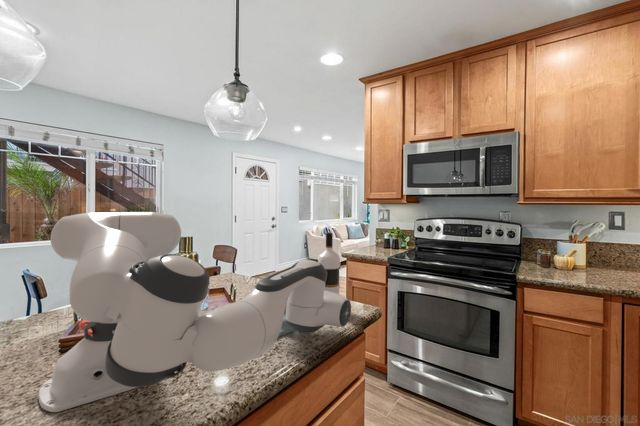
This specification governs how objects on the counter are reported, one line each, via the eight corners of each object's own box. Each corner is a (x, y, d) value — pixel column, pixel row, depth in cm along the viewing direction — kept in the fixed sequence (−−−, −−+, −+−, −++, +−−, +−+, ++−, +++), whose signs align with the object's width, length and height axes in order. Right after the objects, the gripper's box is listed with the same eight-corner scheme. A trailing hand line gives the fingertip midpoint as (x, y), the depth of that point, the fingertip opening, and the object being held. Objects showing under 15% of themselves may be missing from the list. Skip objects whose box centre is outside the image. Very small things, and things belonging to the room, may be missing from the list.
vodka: (324, 317, 109) (325, 234, 108) (311, 309, 117) (312, 232, 116) (345, 313, 114) (346, 233, 113) (332, 305, 122) (332, 231, 121)
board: (272, 339, 92) (272, 318, 92) (246, 325, 102) (246, 307, 102) (309, 323, 104) (310, 305, 104) (283, 313, 114) (283, 296, 113)
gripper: (279, 319, 86) (251, 307, 96) (327, 302, 101) (299, 293, 111) (279, 297, 86) (251, 287, 96) (328, 283, 101) (299, 276, 110)
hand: (277, 290), depth 103 cm, fingers closed on sleeve, 6 cm apart
